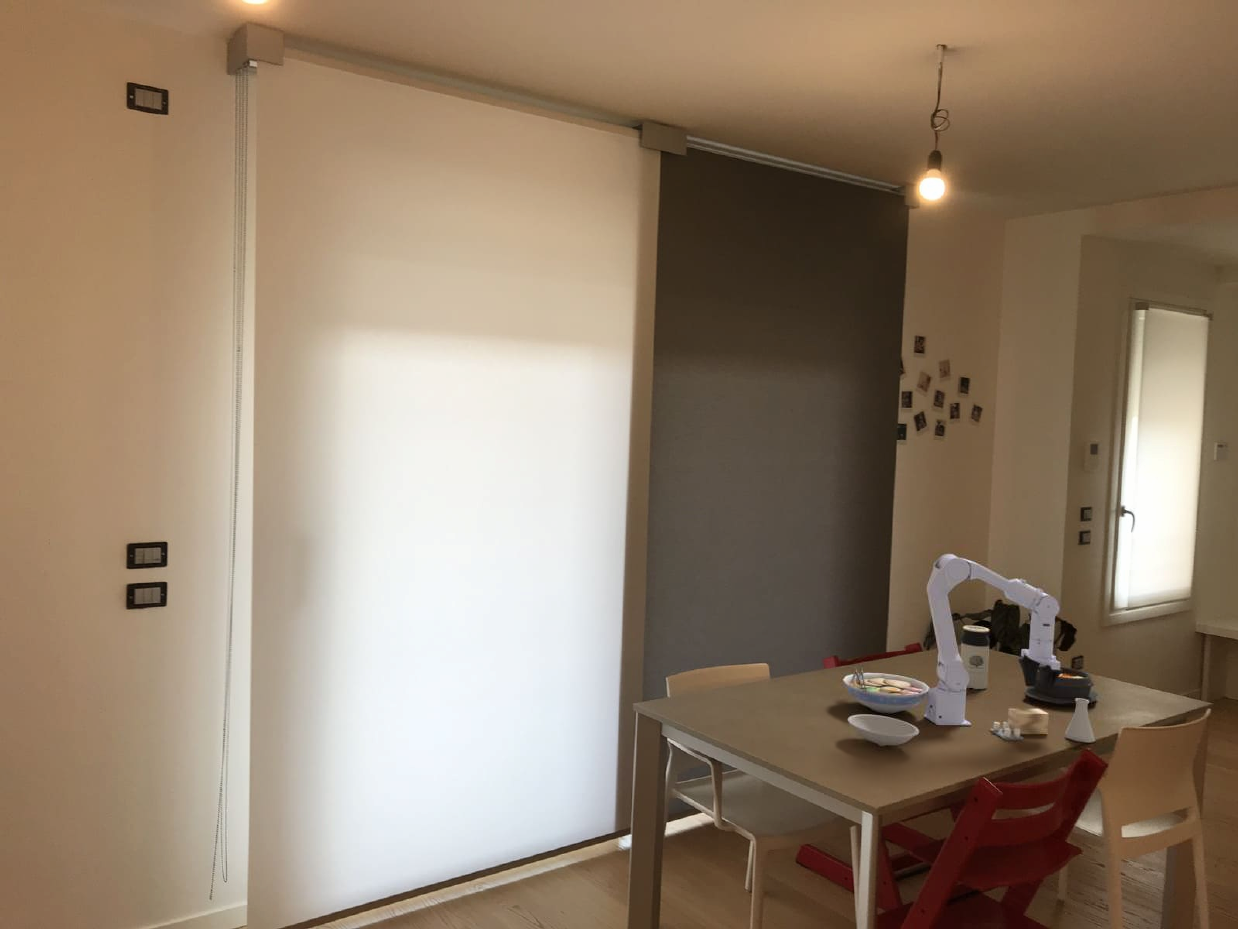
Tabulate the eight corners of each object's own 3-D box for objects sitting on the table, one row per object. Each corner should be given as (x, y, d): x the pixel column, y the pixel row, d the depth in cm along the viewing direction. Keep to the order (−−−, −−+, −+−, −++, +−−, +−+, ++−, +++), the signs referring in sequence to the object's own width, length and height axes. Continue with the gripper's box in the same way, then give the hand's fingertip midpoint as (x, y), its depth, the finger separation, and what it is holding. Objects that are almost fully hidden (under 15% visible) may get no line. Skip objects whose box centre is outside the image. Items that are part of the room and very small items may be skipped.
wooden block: (1016, 735, 242) (1018, 713, 242) (1007, 729, 247) (1008, 708, 247) (1047, 735, 244) (1048, 713, 243) (1037, 729, 248) (1039, 708, 248)
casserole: (1068, 714, 263) (1070, 684, 263) (1007, 697, 278) (1009, 669, 278) (1113, 702, 278) (1115, 674, 278) (1053, 687, 293) (1054, 660, 293)
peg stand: (1005, 740, 237) (1005, 730, 237) (989, 730, 245) (990, 721, 244) (1023, 740, 238) (1024, 730, 238) (1007, 730, 245) (1008, 721, 245)
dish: (833, 740, 231) (834, 720, 231) (868, 730, 240) (869, 711, 240) (896, 761, 218) (897, 740, 218) (930, 750, 227) (931, 729, 227)
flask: (1068, 732, 246) (1070, 694, 246) (1098, 739, 242) (1101, 700, 241) (1060, 738, 241) (1063, 699, 240) (1091, 745, 236) (1094, 705, 236)
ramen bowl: (933, 727, 245) (935, 696, 245) (843, 718, 250) (844, 688, 249) (922, 701, 269) (924, 673, 269) (840, 694, 274) (841, 666, 274)
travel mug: (960, 681, 295) (963, 624, 294) (987, 685, 291) (991, 627, 291) (957, 687, 287) (960, 628, 287) (985, 691, 284) (988, 632, 283)
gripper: (1072, 645, 242) (1069, 698, 243) (1039, 633, 256) (1036, 683, 257) (1047, 645, 241) (1043, 697, 242) (1015, 632, 255) (1012, 682, 256)
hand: (1038, 690), depth 249 cm, fingers open, 7 cm apart
